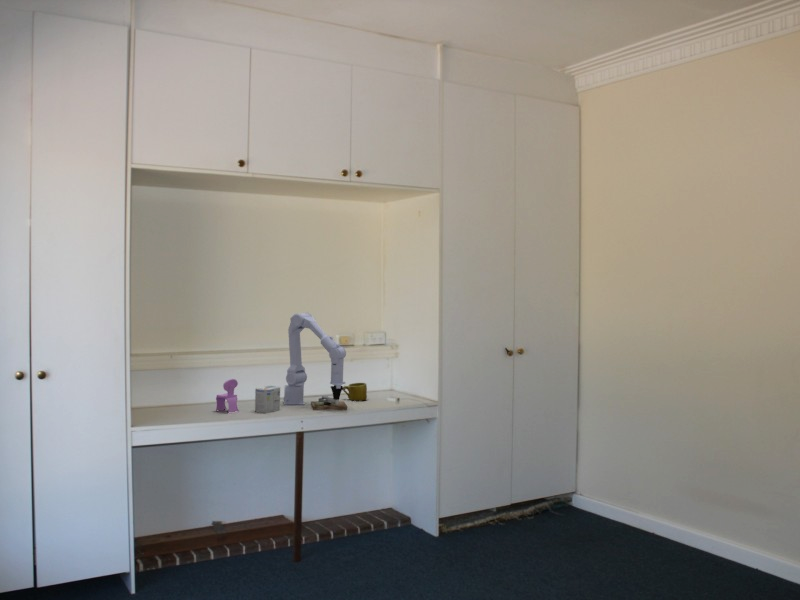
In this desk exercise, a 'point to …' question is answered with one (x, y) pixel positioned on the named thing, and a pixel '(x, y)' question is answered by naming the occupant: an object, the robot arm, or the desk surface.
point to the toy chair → (228, 396)
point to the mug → (356, 391)
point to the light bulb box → (267, 399)
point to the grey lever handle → (328, 400)
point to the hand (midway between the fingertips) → (336, 401)
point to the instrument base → (328, 406)
